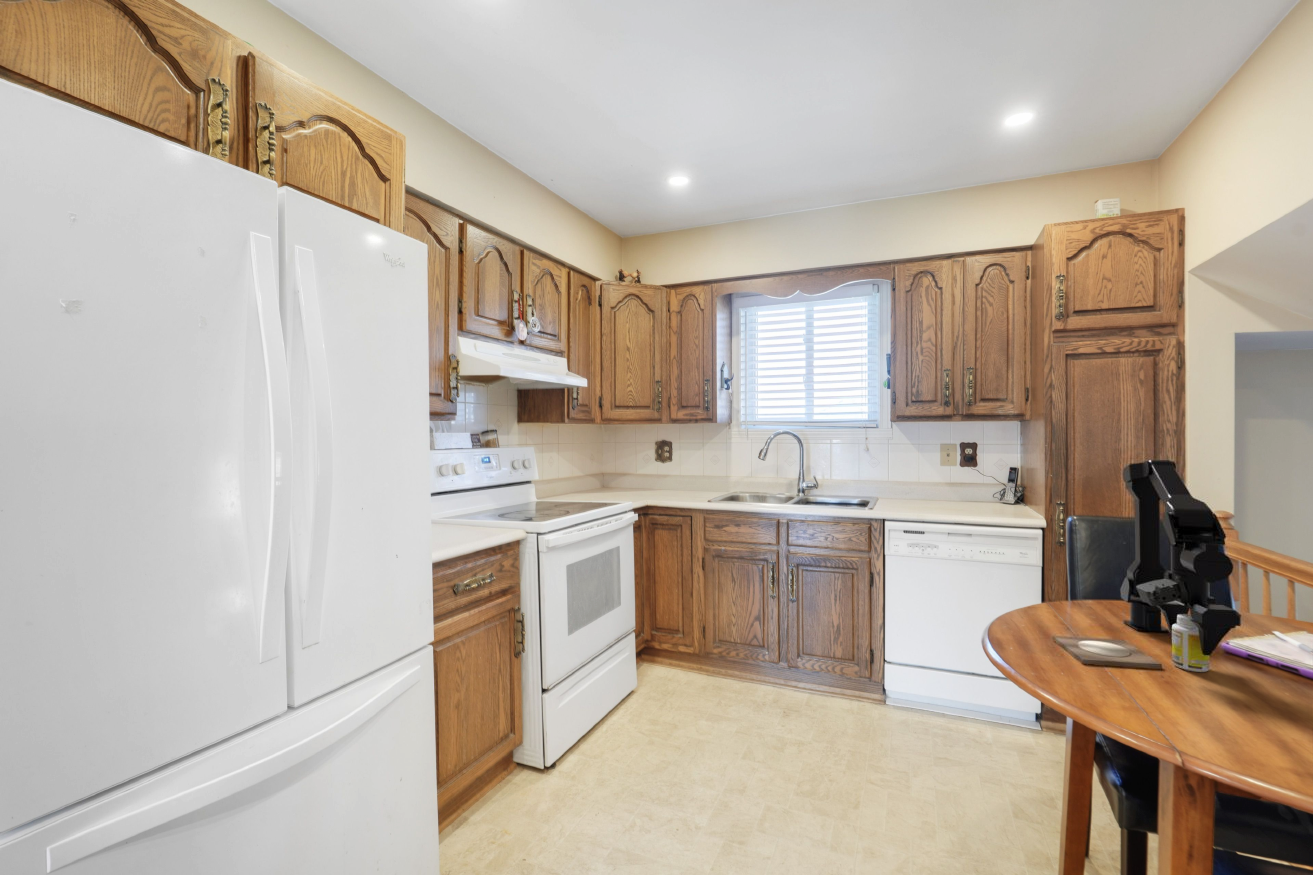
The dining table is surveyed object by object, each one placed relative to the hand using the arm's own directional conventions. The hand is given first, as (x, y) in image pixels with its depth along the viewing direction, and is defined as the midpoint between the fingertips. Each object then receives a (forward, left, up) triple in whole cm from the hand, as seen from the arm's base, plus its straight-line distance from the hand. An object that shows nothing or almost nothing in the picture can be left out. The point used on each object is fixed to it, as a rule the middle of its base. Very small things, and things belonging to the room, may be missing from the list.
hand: (1190, 646), depth 118 cm
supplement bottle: (0, 0, -4) cm, 4 cm away
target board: (-5, -13, -4) cm, 15 cm away
